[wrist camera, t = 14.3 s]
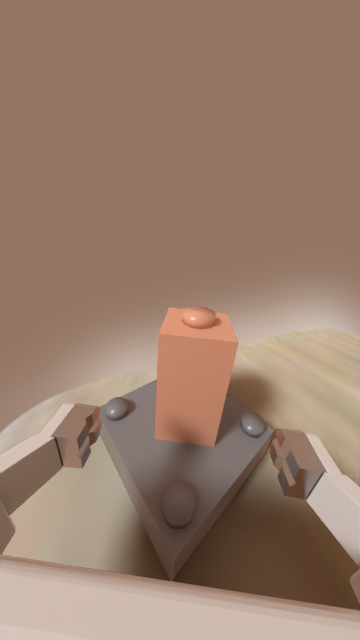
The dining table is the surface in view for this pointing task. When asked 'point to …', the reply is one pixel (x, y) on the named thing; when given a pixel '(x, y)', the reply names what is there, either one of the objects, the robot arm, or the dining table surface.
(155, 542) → the charcoal base brick
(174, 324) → the terracotta brick
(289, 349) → the dining table surface
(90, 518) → the dining table surface
